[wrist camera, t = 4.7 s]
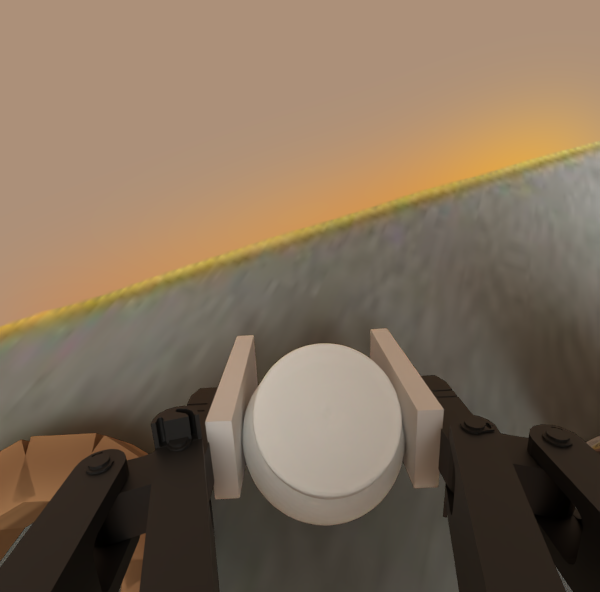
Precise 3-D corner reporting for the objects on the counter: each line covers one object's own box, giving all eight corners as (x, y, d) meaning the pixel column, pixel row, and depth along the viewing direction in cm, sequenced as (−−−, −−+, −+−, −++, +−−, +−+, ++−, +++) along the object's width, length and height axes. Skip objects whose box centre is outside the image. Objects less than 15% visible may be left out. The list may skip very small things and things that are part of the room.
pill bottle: (254, 412, 19) (212, 341, 11) (353, 388, 20) (388, 303, 11) (274, 531, 17) (240, 563, 8) (387, 500, 17) (466, 499, 9)
